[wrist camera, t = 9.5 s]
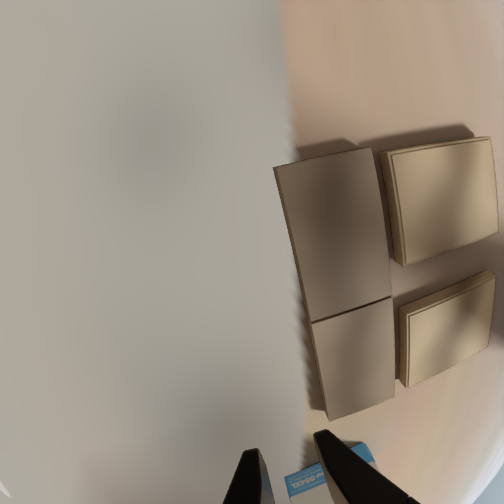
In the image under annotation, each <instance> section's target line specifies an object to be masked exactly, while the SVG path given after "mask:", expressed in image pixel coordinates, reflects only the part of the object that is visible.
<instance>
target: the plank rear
mask: <svg viewBox="0 0 504 504" xmlns="http://www.w3.org/2000/svg"><path fill="white" fill-rule="evenodd" d="M495 284H496V275H495V274H493V273H491V272H489V271H488V270H486V271H484V272H482V273H479V274H477V275H475V276H473V277H471V278H468V279H466V280H464V281H462V282H459V283H457V284H455V285H452V286H450V287H448V288H445V289H443V290H441V291H438V292H436V293H433V294H431V295H428V296H426V297H423V298H421V299H418V300H416V301H413V302H411V303H408V304H406V305H403V306H400V307H398V311H399V340H400V377H399V380H400V382H401V383H402V384H403V386H404V387H405V388H406V389H407V388H409V387H411V386H413V385H415V384H418V383H420V382H422V381H424V380H426V379H428V378H430V377H432V376H434V375H437V374H439V373H441V372H443V371H445V370H446V369H448V368H450V367H452V366H454V365H456V364H458V363H460V362H462V361H463V360H465V359H467V358H469V357H471V356H473V355H474V354H476V353H478V352H480V351H481V350H483V349H485V348H486V347H488V344H489V338H490V331H491V324H492V316H493V307H494V297H495Z"/></svg>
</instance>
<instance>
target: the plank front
mask: <svg viewBox="0 0 504 504" xmlns="http://www.w3.org/2000/svg"><path fill="white" fill-rule="evenodd" d="M379 157H380V163H381V168H382V173H383V179H384V184H385V190H386V196H387V203H388V209H389V216H390V223H391V231H392V239H393V248H394V257H395V261H396V262H397V263H399V264H400V265H402V266H403V267H404V266H407V265H411V264H413V263H416V262H419V261H422V260H425V259H428V258H431V257H434V256H437V255H440V254H443V253H445V252H448V251H451V250H454V249H457V248H459V247H462V246H465V245H468V244H470V243H473V242H476V241H479V240H481V239H484V238H487V237H489V236H492V235H494V234H497V233H499V223H498V200H497V186H496V175H495V166H494V158H493V150H492V144H491V137H473V138H465V139H458V140H451V141H444V142H438V143H431V144H425V145H419V146H413V147H407V148H401V149H396V150H390V151H385V152H379Z"/></svg>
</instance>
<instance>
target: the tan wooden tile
mask: <svg viewBox="0 0 504 504" xmlns="http://www.w3.org/2000/svg"><path fill="white" fill-rule="evenodd" d="M273 170H274V175H275V178H276V182H277V187H278V191H279V195H280V199H281V203H282V207H283V211H284V216H285V220H286V224H287V228H288V233H289V237H290V241H291V246H292V250H293V255H294V259H295V264H296V268H297V273H298V277H299V282H300V287H301V291H302V296H303V301H304V305H305V310H306V314H307V320H308V325H309V330H310V335H311V340H312V345H313V350H314V355H315V360H316V365H317V371H318V376H319V381H320V387H321V392H322V398H323V403H324V409H325V413H326V415H327V418H328V420H329V421H333V420H336V419H338V418H341V417H344V416H347V415H350V414H353V413H355V412H358V411H361V410H364V409H366V408H369V407H371V406H374V405H376V404H379V403H381V402H384V401H386V400H389V399H391V398H393V397H395V340H394V316H393V299H392V297H391V296H390V295H392V286H391V274H390V264H389V255H388V246H387V238H386V230H385V223H384V216H383V209H382V203H381V197H380V191H379V185H378V180H377V174H376V169H375V164H374V159H373V154H372V149H371V148H360V149H355V150H350V151H345V152H340V153H335V154H330V155H325V156H321V157H316V158H312V159H307V160H303V161H298V162H294V163H290V164H285V165H281V166H277V167H273Z"/></svg>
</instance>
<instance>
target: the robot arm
mask: <svg viewBox="0 0 504 504" xmlns="http://www.w3.org/2000/svg"><path fill="white" fill-rule="evenodd" d="M313 437H314V442H315V446H316V450H317V454H318V457H319V461H320V464H321V467H322V470H323V473H324V476H325V480H326V483H327V486H328V489H329V492H330V495H331V498H332V500H333V502H334V504H420V503H419V502H418V501H416V500H415V499H414V498H412V497H409V495H408V494H407V493H405V492H404V491H403V490H401V489H400V488H399V487H397V486H396V485H395V484H394V483H392V482H391V481H390V480H388V479H387V478H386V477H385V476H383V475H382V474H381V473H380V472H378V471H377V470H376V469H375V468H373V467H372V466H371V465H370V464H368V463H367V462H366V461H365V460H363V459H362V458H361V457H360V456H359V455H357V454H356V453H355V452H354V451H353V450H351V449H350V448H349V447H348V446H347V445H345V444H344V443H343V442H342V441H341V440H340V439H338V438H337V437H336V436H335V435H334V434H333V433H331V432H330V431H329V430H327V429H325V430H321V431H318V432H315V433H314V434H313ZM408 497H409V498H408ZM223 504H275V501H274V497H273V493H272V489H271V484H270V480H269V476H268V472H267V468H266V464H265V462H264V460H263V457H262V455H261V453H260V451H259V449H258V448H254V449H249V450H245V451H244V452H243V454H242V456H241V459H240V461H239V464H238V466H237V469H236V472H235V474H234V477H233V479H232V482H231V484H230V487H229V489H228V491H227V494H226V497H225V499H224V501H223Z"/></svg>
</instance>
